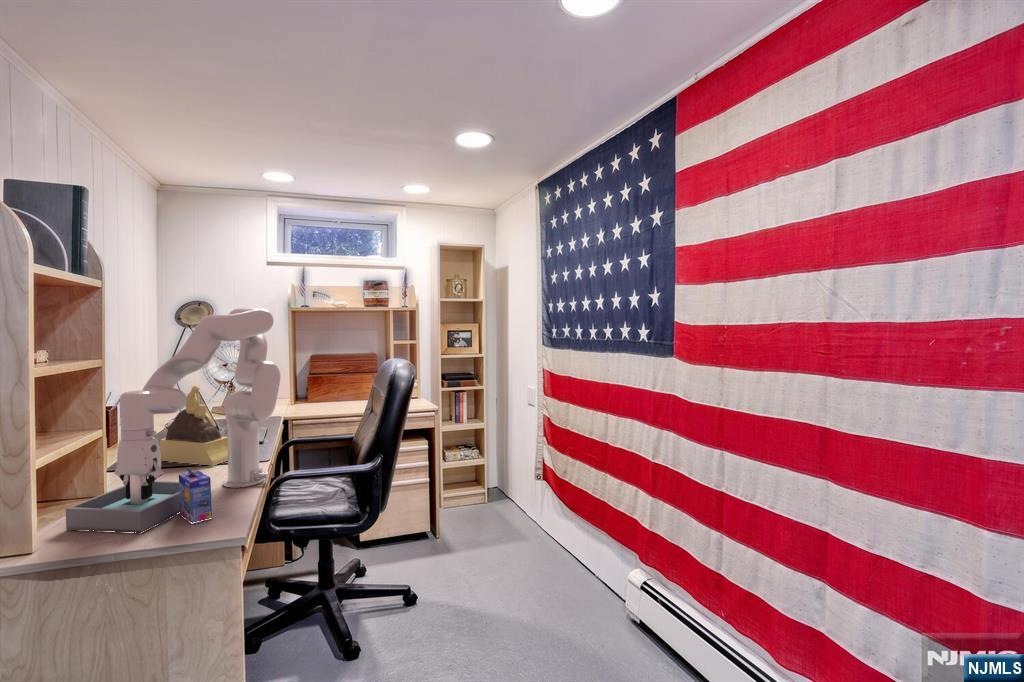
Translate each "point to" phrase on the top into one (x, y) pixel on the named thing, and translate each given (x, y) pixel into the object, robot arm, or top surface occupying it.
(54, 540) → the top surface
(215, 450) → the statue on rock pedestal
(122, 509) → the storage box
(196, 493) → the ink cartridge box
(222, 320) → the robot arm
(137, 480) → the plug
